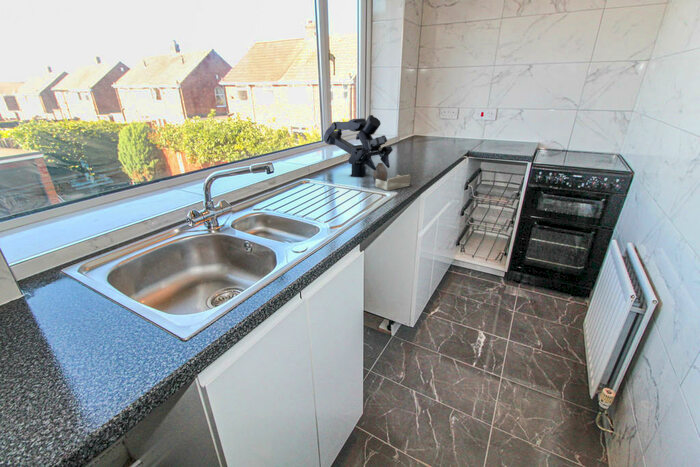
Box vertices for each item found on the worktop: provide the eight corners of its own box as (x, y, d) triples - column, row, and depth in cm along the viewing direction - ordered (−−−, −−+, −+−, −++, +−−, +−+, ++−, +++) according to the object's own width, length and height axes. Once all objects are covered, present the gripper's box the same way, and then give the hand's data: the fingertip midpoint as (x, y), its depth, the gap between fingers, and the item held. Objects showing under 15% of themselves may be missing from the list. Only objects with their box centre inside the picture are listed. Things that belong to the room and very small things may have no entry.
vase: (371, 183, 152) (371, 164, 148) (373, 179, 158) (374, 161, 155) (386, 184, 150) (386, 165, 147) (388, 180, 157) (388, 162, 153)
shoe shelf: (375, 186, 147) (375, 175, 145) (396, 181, 155) (397, 171, 153) (388, 190, 141) (388, 179, 139) (409, 185, 148) (410, 174, 146)
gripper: (359, 131, 143) (375, 160, 139) (390, 128, 153) (406, 155, 149) (348, 147, 152) (363, 175, 148) (379, 143, 162) (393, 169, 158)
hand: (382, 168), depth 151 cm, fingers open, 8 cm apart
